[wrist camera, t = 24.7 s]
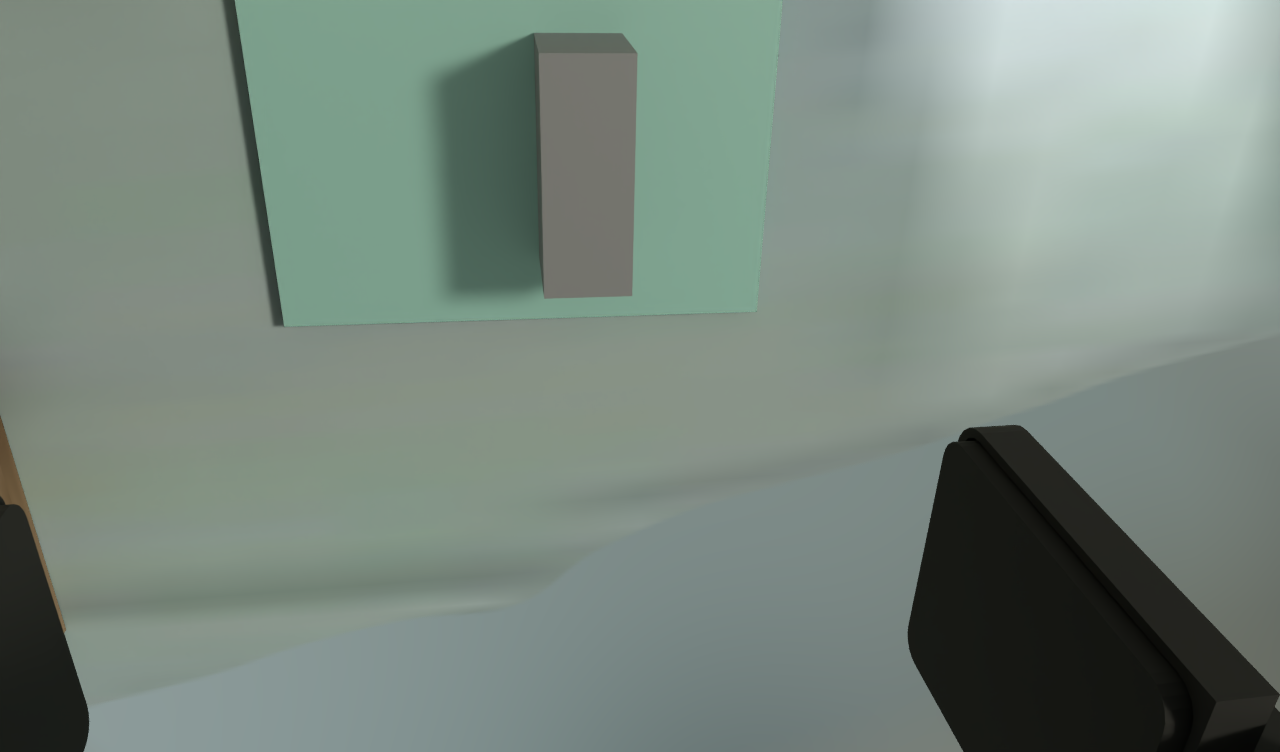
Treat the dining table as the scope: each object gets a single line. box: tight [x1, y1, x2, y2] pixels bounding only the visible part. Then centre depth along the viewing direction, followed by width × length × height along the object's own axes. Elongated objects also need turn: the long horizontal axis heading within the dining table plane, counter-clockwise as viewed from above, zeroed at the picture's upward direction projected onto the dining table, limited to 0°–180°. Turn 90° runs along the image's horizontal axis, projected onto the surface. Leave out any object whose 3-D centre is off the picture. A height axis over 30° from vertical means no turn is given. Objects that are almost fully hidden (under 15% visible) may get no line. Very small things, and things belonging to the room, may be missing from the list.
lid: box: [235, 0, 783, 327], centre depth 34 cm, size 18×13×5 cm
